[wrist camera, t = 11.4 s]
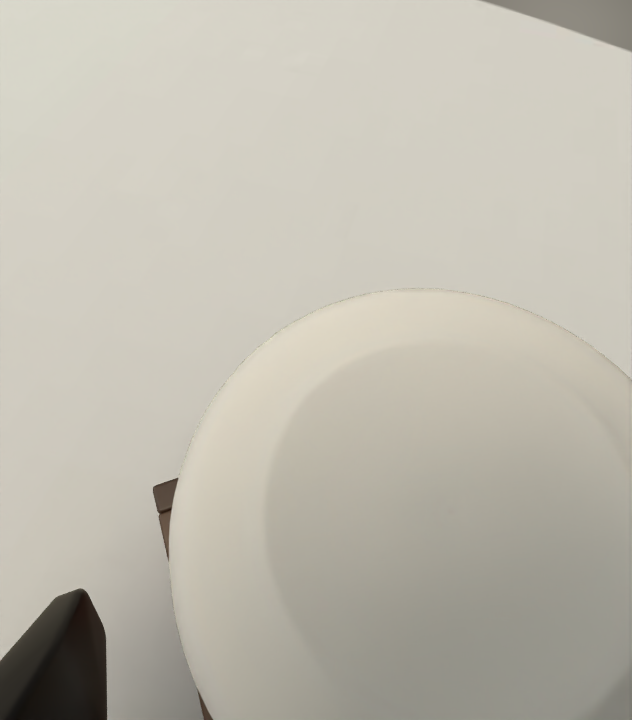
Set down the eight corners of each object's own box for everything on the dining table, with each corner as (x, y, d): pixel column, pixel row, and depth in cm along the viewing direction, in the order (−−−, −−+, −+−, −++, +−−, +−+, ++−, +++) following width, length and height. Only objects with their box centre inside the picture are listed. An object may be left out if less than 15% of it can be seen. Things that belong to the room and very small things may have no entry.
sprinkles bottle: (315, 494, 17) (355, 200, 5) (436, 573, 16) (818, 427, 4) (233, 621, 15) (14, 607, 4) (363, 720, 14) (680, 1177, 2)
